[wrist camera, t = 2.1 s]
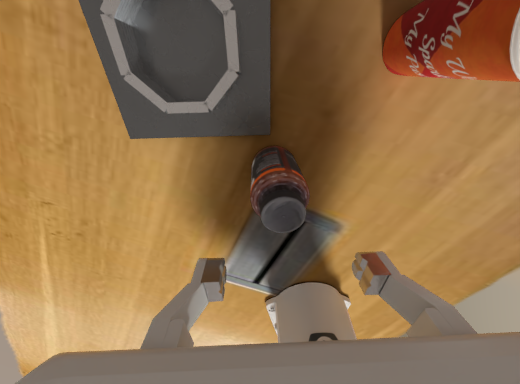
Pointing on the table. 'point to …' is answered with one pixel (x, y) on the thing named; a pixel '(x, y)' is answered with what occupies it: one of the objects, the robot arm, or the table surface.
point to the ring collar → (186, 64)
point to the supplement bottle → (278, 190)
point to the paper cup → (456, 40)
